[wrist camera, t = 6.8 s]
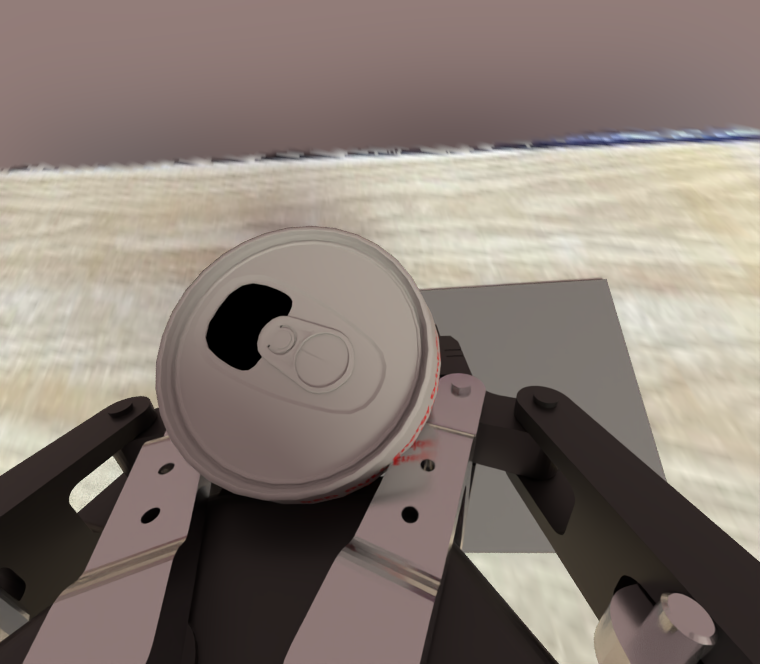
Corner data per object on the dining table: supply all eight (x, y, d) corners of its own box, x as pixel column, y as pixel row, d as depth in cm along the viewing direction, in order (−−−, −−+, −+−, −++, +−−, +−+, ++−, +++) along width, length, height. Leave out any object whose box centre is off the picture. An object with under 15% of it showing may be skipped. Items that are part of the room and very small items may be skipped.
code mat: (246, 550, 18) (244, 551, 17) (271, 301, 23) (269, 299, 22) (684, 552, 16) (688, 553, 16) (604, 280, 21) (606, 278, 21)
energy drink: (348, 342, 18) (254, 184, 6) (432, 382, 17) (493, 275, 5) (302, 427, 16) (79, 413, 5) (389, 476, 15) (352, 598, 4)
